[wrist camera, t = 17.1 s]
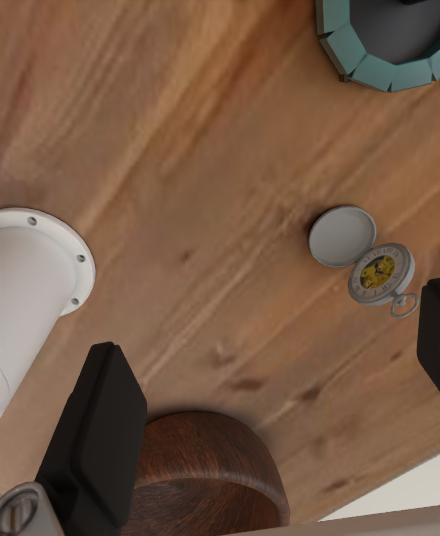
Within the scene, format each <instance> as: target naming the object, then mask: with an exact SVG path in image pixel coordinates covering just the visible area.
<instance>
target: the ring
mask: <svg viewBox="0 0 440 536" xmlns="http://www.w3.org/2000/svg"><path fill="white" fill-rule="evenodd" d="M316 16H317V34H318V35H320V34H324V33H326V34H325V35H324V36H323V37H322V38H321V39H320V40H319V41H320V43H321V44H322V46H323V47H324V49H325V51H326V52H327V54H328V55H329V57H330V59H331V60H332V62H333V64H334V65H335V67H336V68H337V70H338V72H339V73H340V74H344V78H347V79H349V80H351V81H354V82H356V83H359V84H361V85H364V86H366V87H369V88H371V89H374V90H376V91H381V92H391V93H392V92H396V91H401V90H405V89H410V88H414V87H419V86H423V85H428V84H431V81H437V80H438V79H440V39H439V40H438V41H437V42H436V43H435V44H433V45H432V46H431V47H430V48H428V49H427V50H426V51H425V52H424V53H422V54H421V55H420V56H419V57H418V58H414V59H409V60H405V61H401V62H396V63H389V62H387V61H385V60H382V59H380V58H378V57H375V56H373V55H371V54H368V53H367V52H366V50H365V49H364V47H363V45H362V43H361V42H360V40H359V38H358V36H357V35H356V33H355V31H354V29H353V27H352V26H351V24H350V8H349V0H316Z"/></svg>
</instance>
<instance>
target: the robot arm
mask: <svg viewBox="0 0 440 536" xmlns="http://www.w3.org/2000/svg"><path fill="white" fill-rule="evenodd" d="M34 218H35V219H34ZM82 255H83V256H82ZM95 271H96V270H95V265H94V260H93V257H92V255H91V253H90V250H89V249H88V247H87V245H86V244H85V242H84V241H83V240H82V238H81V237H80V236H79V235H78V234H77V233H76V232H75V231H74V230H73V229H72V228H70V227H69V226H68V225H67V224H65V223H64V222H62V221H60V220H59V219H57V218H55V217H53V216H51V215H49V214H46V213H44V212H41V211H38V210H33V209H28V208H16V207H12V208H5V209H0V418H1V416H2V415H3V413H4V411H5V410H6V408H7V406H8V404H9V403H10V401H11V399H12V397H13V396H14V394H15V392H16V391H17V389H18V387H19V385H20V384H21V382H22V380H23V378H24V377H25V375H26V373H27V371H28V370H29V368H30V366H31V365H32V363H33V361H34V359H35V358H36V356H37V354H38V352H39V351H40V349H41V347H42V345H43V344H44V342H45V340H46V339H47V337H48V335H49V333H50V332H51V330H52V328H53V326H54V325H55V323H56V321H57V319H58V318H59V316H63V315H66V314H68V313H70V312H72V311H74V310H76V309H77V308H79V307H80V306H81V305H82V304H83V303H84V302H85V301H86V299H87V298H88V297H89V295H90V293H91V291H92V289H93V285H94V282H95ZM417 357H418V360H419V362H420V364H421V365H422V367H423V368H424V370H425V371H426V372H427V374H428V375H429V377H430V378H431V380H432V381H433V383H434V384H435V385H436V387H437V388H438V390H439V391H440V278H436V279H431V280H429V281H428V282H427V285H426V286H423V287H422V292H421V304H420V316H419V328H418V340H417ZM146 415H147V401H146V398H145V396H144V394H143V392H142V390H141V388H140V386H139V384H138V382H137V380H136V378H135V376H134V374H133V372H132V370H131V368H130V366H129V364H128V362H127V360H126V358H125V356H124V354H123V352H122V350H121V348H120V346H119V345H114V343H113V342H105V343H100V344H94V345H92V347H91V348H90V351H89V353H88V356H87V358H86V361H85V363H84V365H83V368H82V370H81V373H80V375H79V378H78V380H77V383H76V385H75V388H74V390H73V392H72V393H71V394H70V396H69V398H68V400H67V403H66V405H65V407H64V410H63V412H62V415H61V417H60V420H59V422H58V424H57V427H56V429H55V432H54V434H53V437H52V439H51V441H50V444H49V446H48V449H47V451H46V454H45V456H44V458H43V461H42V463H41V466H40V468H39V471H38V473H37V475H36V478H35V480H34V482H25V483H22V484H20V485H17V486H15V487H14V488H12V489H11V490H9V491H8V492H6V493H5V494H4V495H3V496H2V497H1V498H0V536H120V535H121V530H122V526H125V525H126V524H127V522H128V519H129V514H130V508H131V502H132V496H133V491H134V485H135V479H136V473H137V467H138V462H139V456H140V450H141V444H142V438H143V433H144V427H145V421H146ZM222 536H440V505H438V506H431V507H424V508H416V509H408V510H401V511H393V512H386V513H378V514H371V515H364V516H357V517H349V518H342V519H335V520H328V521H320V522H313V523H306V524H299V525H292V526H285V527H278V528H270V529H263V530H256V531H249V532H242V533H235V534H229V535H222Z"/></svg>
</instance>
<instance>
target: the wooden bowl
mask: <svg viewBox="0 0 440 536" xmlns="http://www.w3.org/2000/svg"><path fill="white" fill-rule="evenodd" d="M289 523H290V509H289V505H288V501H287V497H286V494H285V491H284V488H283V484H282V481H281V478H280V475H279V472H278V470H277V467H276V465H275V462H274V460H273V458H272V456H271V454H270V453H269V451H268V449H267V448H266V446H265V445H264V443H263V442H262V441H261V439H260V438H259V437H258V436H257V435H256V434H255V433H254V432H253V431H252V430H251V429H250V428H248V427H247V426H246V425H244V424H242V423H240V422H238V421H236V420H234V419H232V418H229V417H226V416H223V415H219V414H214V413H207V412H185V413H178V414H173V415H169V416H165V417H163V418H160V419H158V420H155V421H153V422H151V423H149V424H148V425H146V426H145V427H144V433H143V438H142V444H141V450H140V456H139V462H138V467H137V473H136V479H135V485H134V491H133V496H132V502H131V508H130V514H129V519H128V522H127V524H126V525H125V526H122V530H121V535H120V536H222V535H229V534H235V533H242V532H249V531H256V530H263V529H270V528H278V527H285V526H289Z"/></svg>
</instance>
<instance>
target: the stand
mask: <svg viewBox="0 0 440 536" xmlns="http://www.w3.org/2000/svg"><path fill="white" fill-rule="evenodd" d="M349 8H350V24H351V26H352V27H353V29H354V31H355V33H356V35H357V36H358V38H359V40H360V42H361V43H362V45H363V47H364V49H365V50H366V52H367V53H368V54H371V55H373V56H375V57H378V58H380V59H382V60H385V61H387V62H389V63H396V62H401V61H405V60H409V59H414V58H418V57H419V56H420V55H421V54H422V53H424V52H425V51H426V50H427V49H428V48H430V47H431V46H432V45H433V44H435V43H436V42H437V41H438V40H439V39H440V0H349ZM339 81H340V82H344V83H345V82H349V81H351V80H349V79H347V78H344V74H340V73H339Z"/></svg>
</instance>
